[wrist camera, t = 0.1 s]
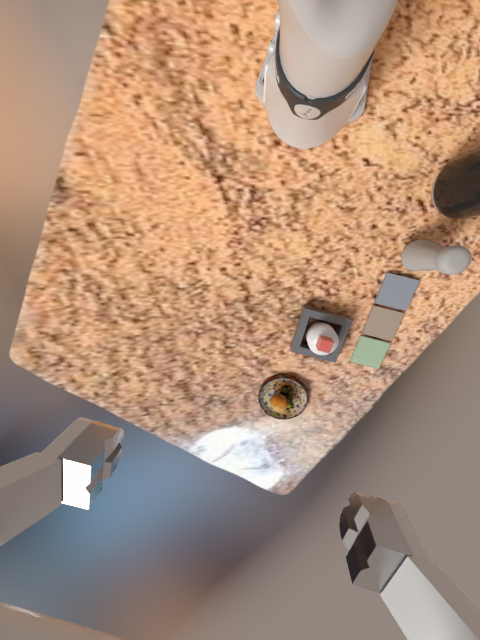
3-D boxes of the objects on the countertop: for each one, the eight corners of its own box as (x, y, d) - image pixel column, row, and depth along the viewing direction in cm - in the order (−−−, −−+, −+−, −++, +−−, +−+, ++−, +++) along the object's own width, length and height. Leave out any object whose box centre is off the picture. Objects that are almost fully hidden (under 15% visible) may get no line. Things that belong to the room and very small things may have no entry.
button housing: (303, 305, 55) (304, 308, 53) (348, 316, 55) (352, 320, 53) (289, 346, 58) (290, 351, 56) (332, 357, 58) (335, 362, 56)
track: (386, 272, 51) (387, 272, 51) (418, 280, 51) (419, 280, 51) (349, 360, 58) (350, 361, 57) (377, 367, 58) (378, 369, 57)
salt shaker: (395, 243, 50) (436, 245, 37) (427, 235, 48) (481, 235, 36) (397, 272, 51) (437, 284, 39) (428, 266, 50) (480, 275, 38)
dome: (310, 318, 54) (315, 328, 48) (338, 325, 54) (346, 336, 48) (302, 344, 56) (305, 356, 50) (328, 350, 56) (335, 363, 50)
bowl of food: (278, 422, 66) (279, 444, 59) (248, 390, 64) (246, 409, 57) (317, 398, 62) (323, 419, 55) (287, 364, 60) (289, 381, 53)
